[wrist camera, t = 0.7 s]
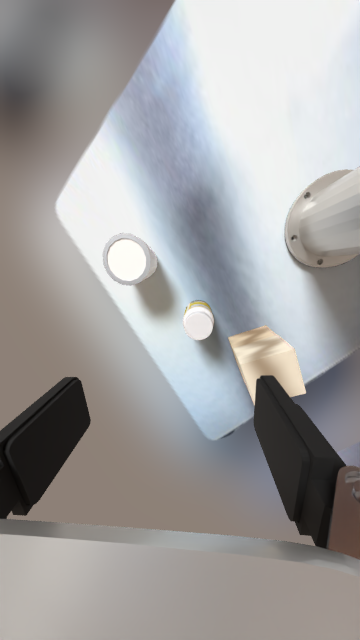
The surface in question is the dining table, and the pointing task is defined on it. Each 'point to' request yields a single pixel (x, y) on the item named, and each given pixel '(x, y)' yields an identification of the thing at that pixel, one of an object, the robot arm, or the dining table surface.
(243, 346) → the top block
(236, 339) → the bottom block
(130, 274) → the white cup
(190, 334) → the supplement bottle
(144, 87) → the dining table surface
